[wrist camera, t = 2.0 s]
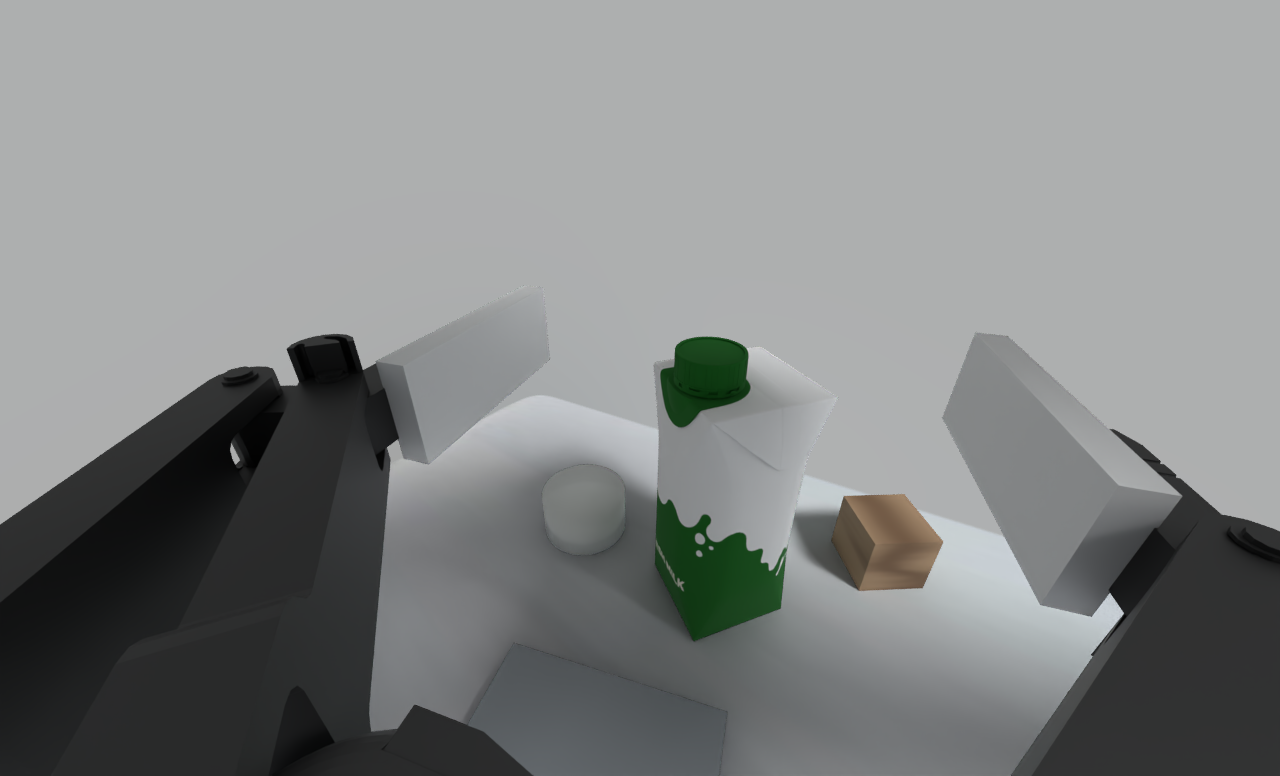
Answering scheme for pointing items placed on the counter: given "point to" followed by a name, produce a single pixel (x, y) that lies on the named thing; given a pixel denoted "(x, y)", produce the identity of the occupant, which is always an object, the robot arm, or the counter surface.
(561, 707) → the slate board
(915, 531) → the walnut block
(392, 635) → the counter surface
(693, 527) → the soya milk
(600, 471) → the white cylinder puck
